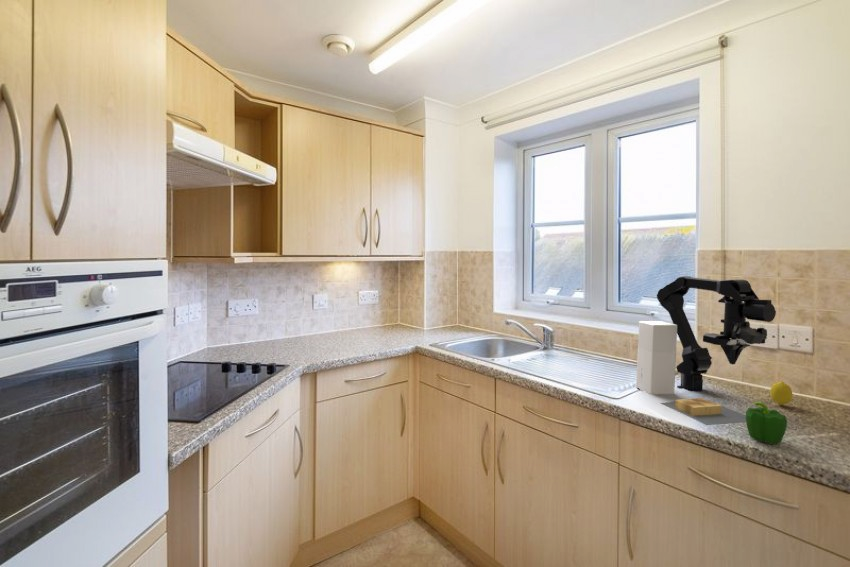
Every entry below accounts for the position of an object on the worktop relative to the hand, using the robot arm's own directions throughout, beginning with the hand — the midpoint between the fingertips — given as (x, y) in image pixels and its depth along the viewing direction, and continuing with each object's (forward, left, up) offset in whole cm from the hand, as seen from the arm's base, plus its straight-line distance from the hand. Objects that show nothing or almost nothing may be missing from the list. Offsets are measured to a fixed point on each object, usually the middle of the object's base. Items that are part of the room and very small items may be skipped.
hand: (732, 364), depth 136 cm
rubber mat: (+7, -16, -13) cm, 22 cm away
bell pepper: (+26, -17, -13) cm, 34 cm away
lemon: (+5, +14, -13) cm, 20 cm away
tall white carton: (-14, -17, -13) cm, 26 cm away
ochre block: (+6, -13, -11) cm, 18 cm away
